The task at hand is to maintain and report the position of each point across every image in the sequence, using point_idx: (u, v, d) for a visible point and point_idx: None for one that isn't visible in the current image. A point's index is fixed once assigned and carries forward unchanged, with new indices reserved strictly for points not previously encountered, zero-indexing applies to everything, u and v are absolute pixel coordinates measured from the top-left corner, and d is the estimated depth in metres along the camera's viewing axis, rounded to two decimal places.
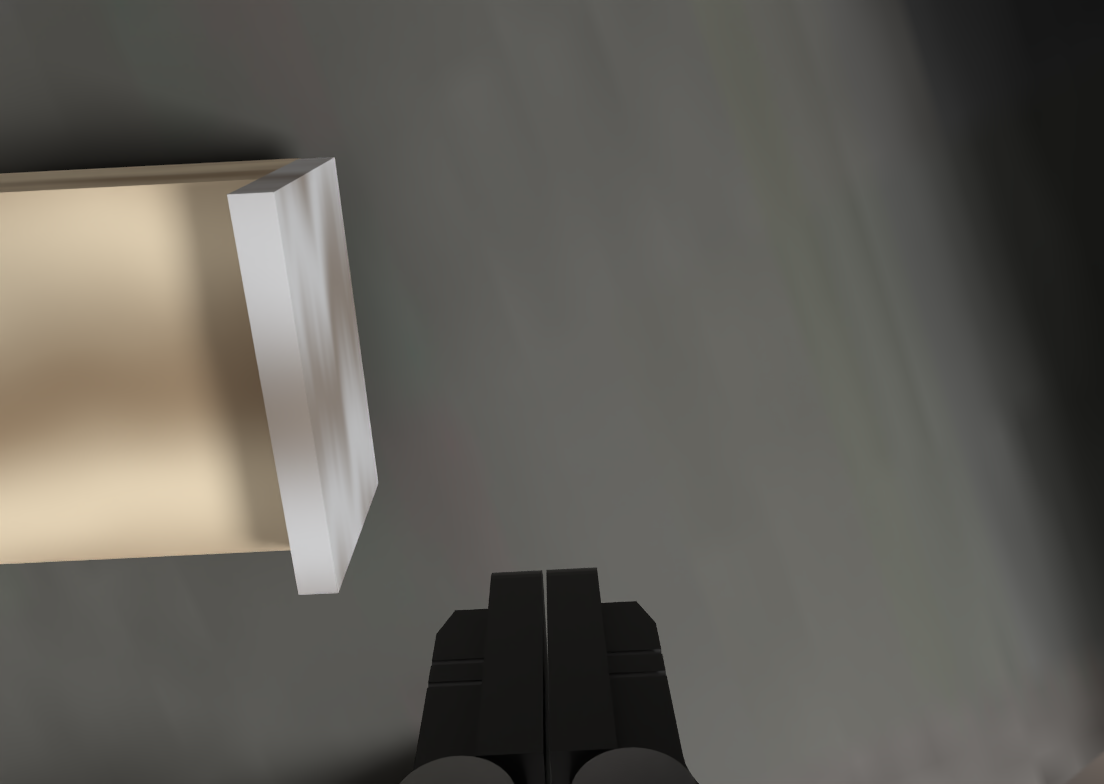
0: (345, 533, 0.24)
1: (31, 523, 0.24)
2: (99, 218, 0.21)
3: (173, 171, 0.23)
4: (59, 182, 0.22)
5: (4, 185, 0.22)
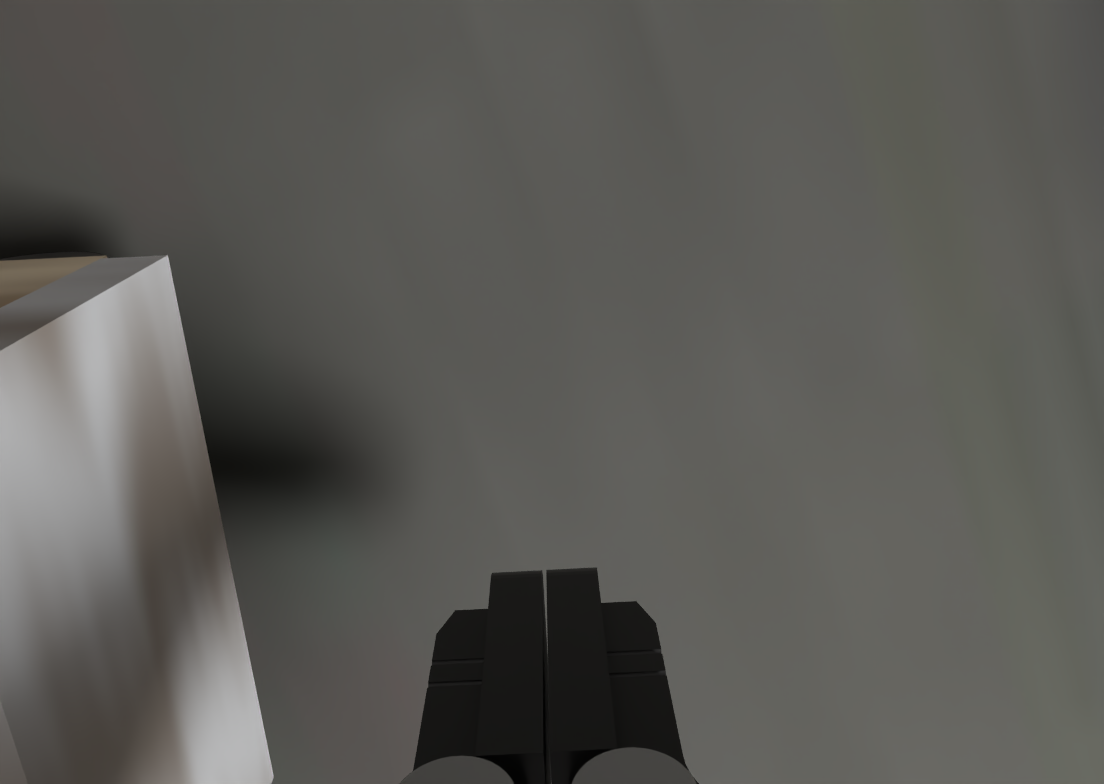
0: None
1: None
2: None
3: None
4: None
5: None
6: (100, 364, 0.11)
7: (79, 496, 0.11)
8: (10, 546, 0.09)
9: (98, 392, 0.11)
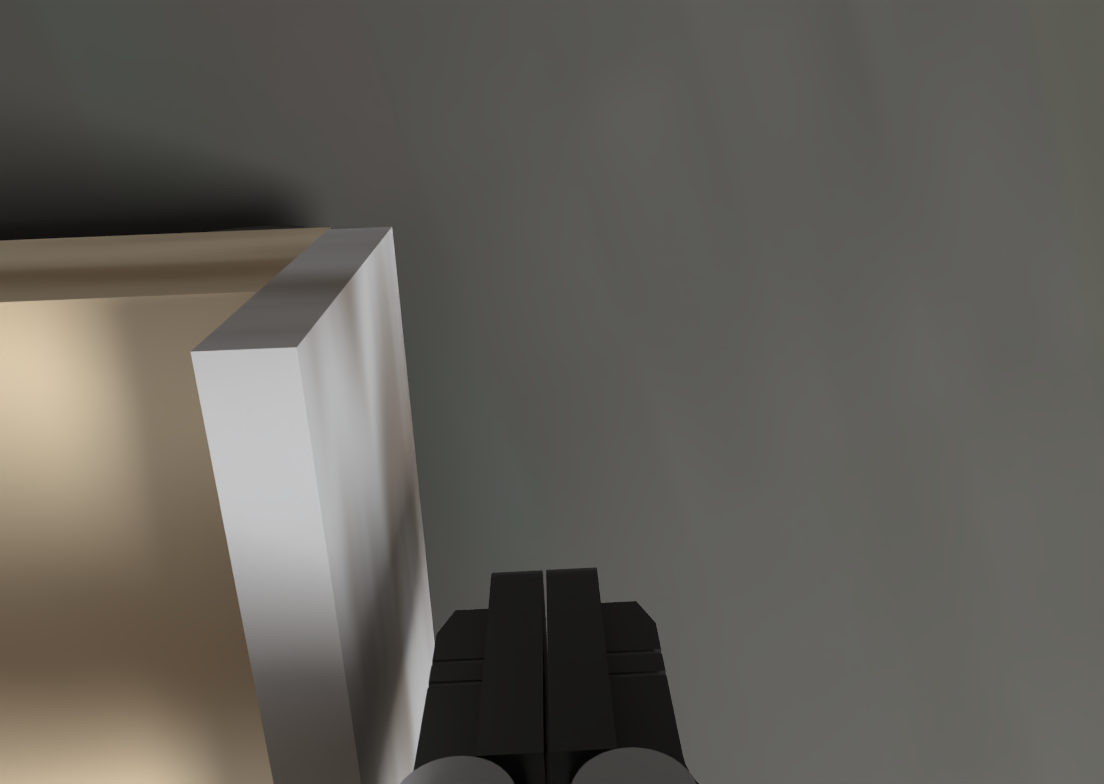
0: None
1: None
2: None
3: (102, 256, 0.13)
4: None
5: None
6: (368, 324, 0.12)
7: (363, 447, 0.11)
8: (339, 486, 0.10)
9: (368, 351, 0.12)
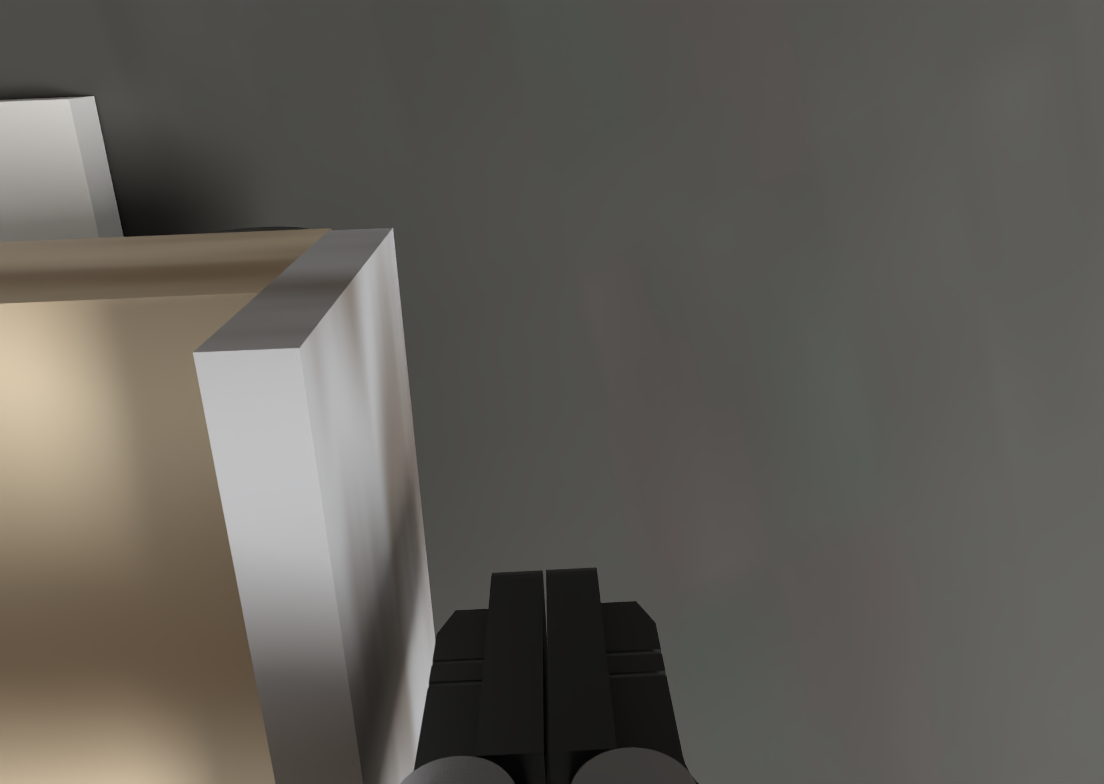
0: None
1: None
2: None
3: (103, 258, 0.13)
4: None
5: None
6: (369, 326, 0.12)
7: (365, 448, 0.11)
8: (341, 488, 0.10)
9: (369, 352, 0.12)
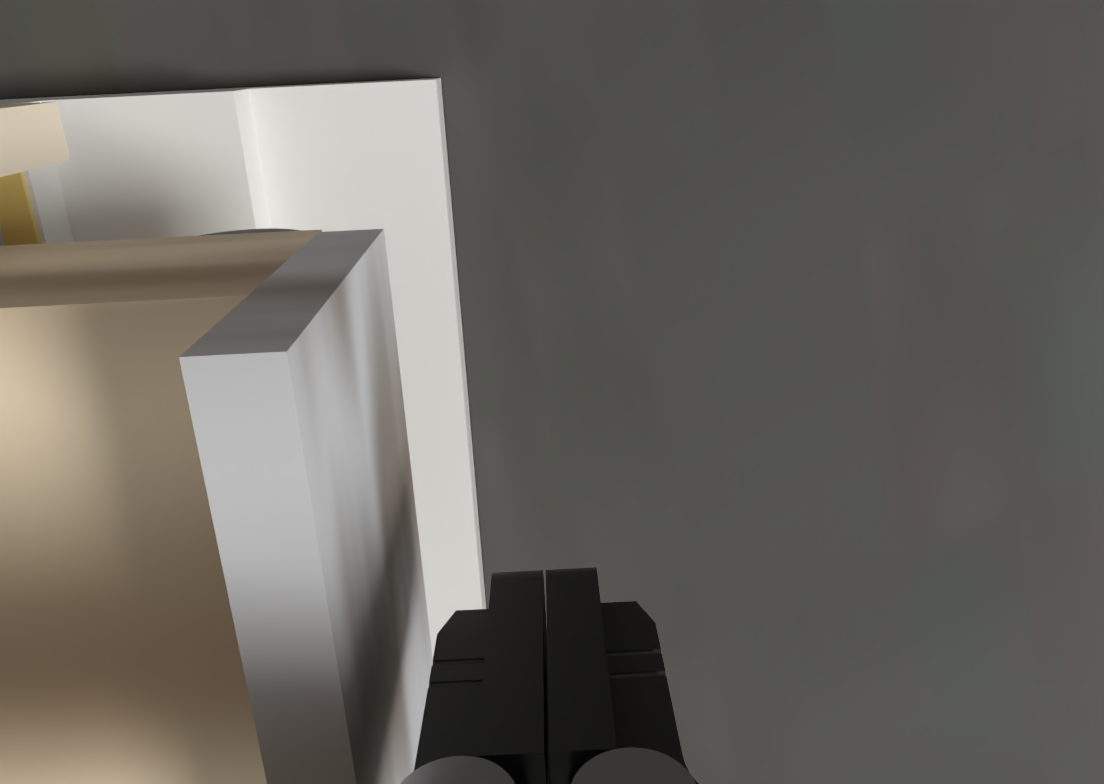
0: None
1: None
2: None
3: (90, 261, 0.13)
4: None
5: None
6: (360, 328, 0.12)
7: (356, 451, 0.11)
8: (332, 492, 0.10)
9: (360, 354, 0.12)
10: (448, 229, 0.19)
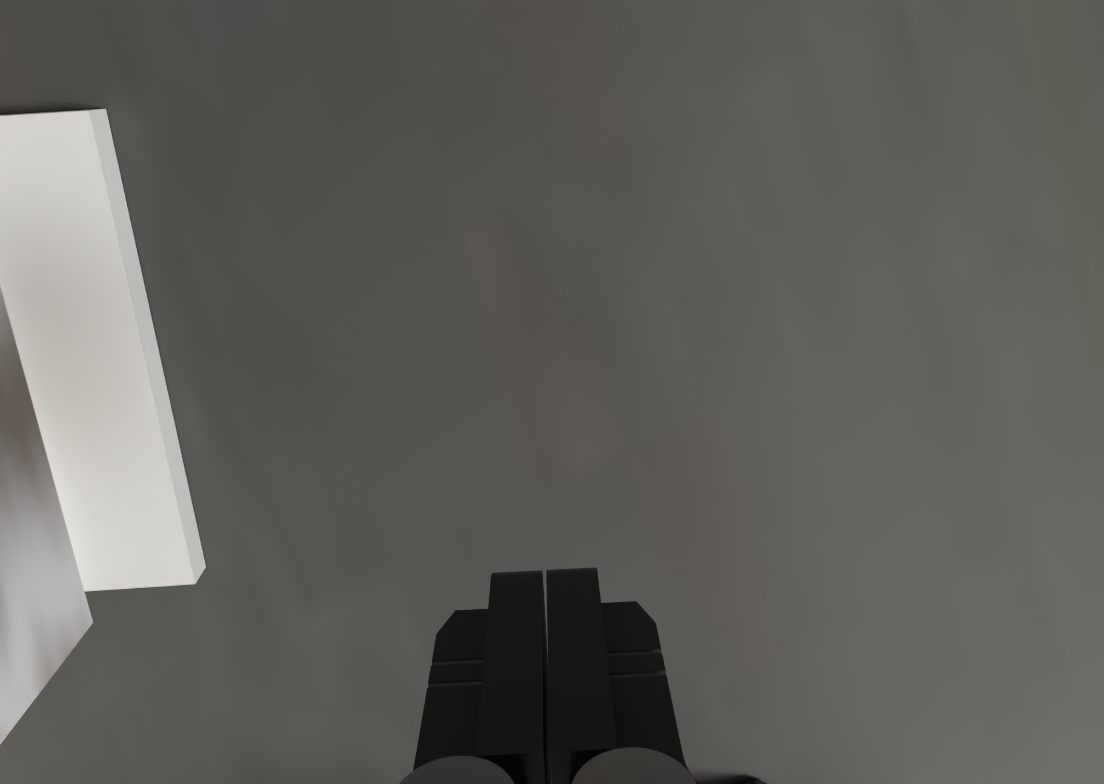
0: None
1: None
2: None
3: None
4: None
5: None
6: None
7: None
8: None
9: None
10: (114, 227, 0.24)
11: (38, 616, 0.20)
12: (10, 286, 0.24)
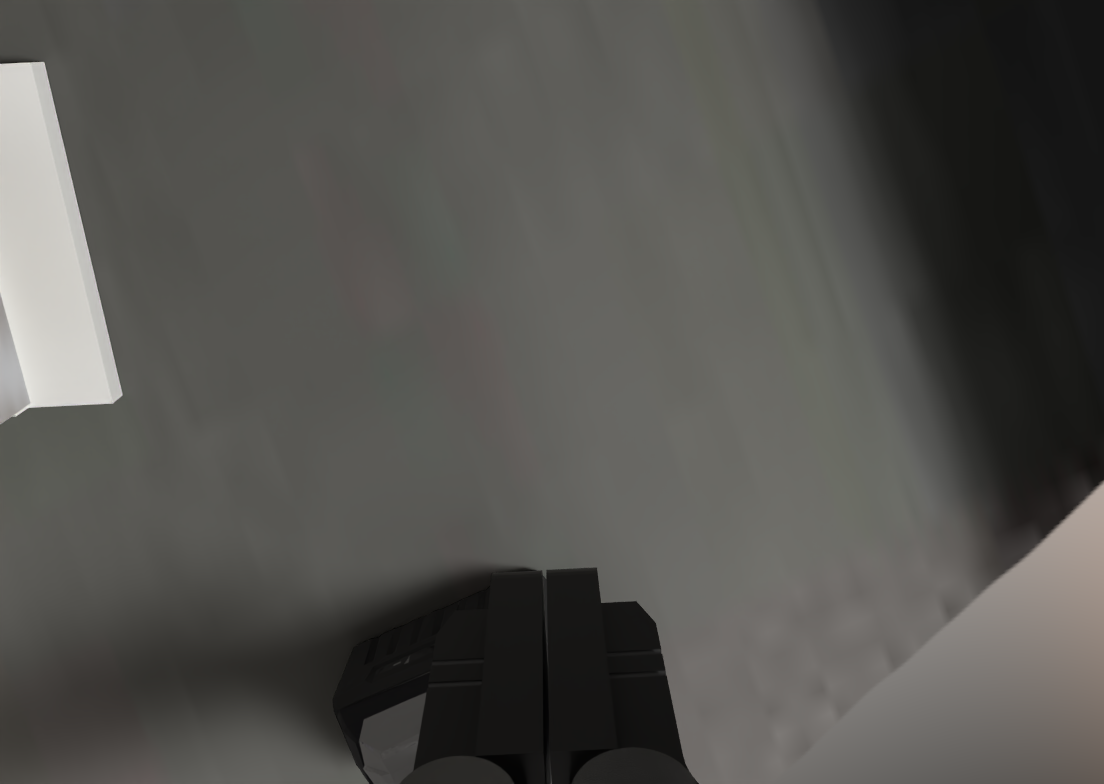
0: None
1: None
2: None
3: None
4: None
5: None
6: None
7: None
8: None
9: None
10: (50, 143, 0.35)
11: None
12: None
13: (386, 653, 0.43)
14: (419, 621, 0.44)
